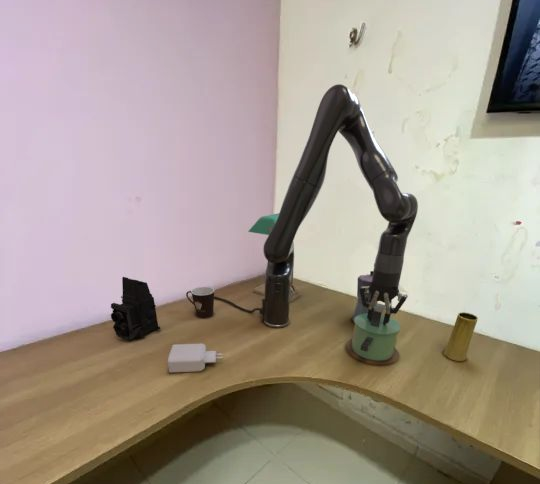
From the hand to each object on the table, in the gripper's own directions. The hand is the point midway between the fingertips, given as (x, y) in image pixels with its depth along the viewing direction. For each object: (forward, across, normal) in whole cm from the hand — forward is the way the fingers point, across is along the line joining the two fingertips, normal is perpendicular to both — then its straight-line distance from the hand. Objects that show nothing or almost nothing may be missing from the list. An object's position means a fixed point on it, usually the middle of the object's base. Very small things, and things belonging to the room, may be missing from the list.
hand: (377, 321), depth 95 cm
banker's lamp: (+11, +51, -24) cm, 57 cm away
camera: (+11, +71, +35) cm, 80 cm away
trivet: (+11, 0, 0) cm, 11 cm away
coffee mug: (+11, +64, +10) cm, 66 cm away
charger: (+11, +42, +36) cm, 56 cm away
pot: (+10, 0, +3) cm, 10 cm away
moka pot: (+11, +8, -19) cm, 23 cm away
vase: (+11, -23, -12) cm, 28 cm away
